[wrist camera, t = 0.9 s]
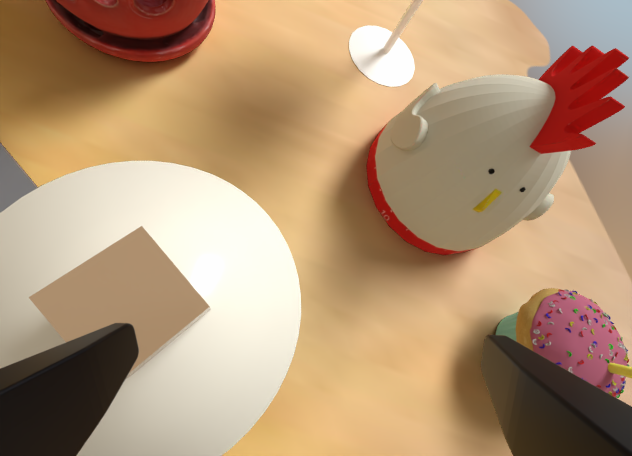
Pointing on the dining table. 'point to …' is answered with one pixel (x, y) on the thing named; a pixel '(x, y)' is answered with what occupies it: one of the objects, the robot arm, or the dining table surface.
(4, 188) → the mat
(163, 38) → the plant pot
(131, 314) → the lid
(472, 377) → the dining table surface
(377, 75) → the wineglass
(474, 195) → the kitchen timer
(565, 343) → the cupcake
